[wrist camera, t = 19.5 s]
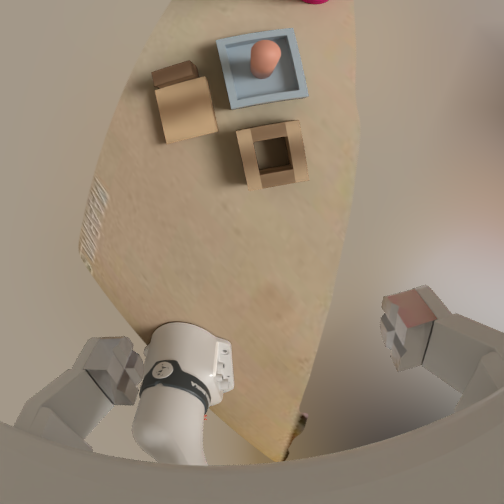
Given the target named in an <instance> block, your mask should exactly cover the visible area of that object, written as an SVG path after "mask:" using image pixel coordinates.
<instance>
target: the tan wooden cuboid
mask: <svg viewBox="0 0 504 504" xmlns="http://www.w3.org/2000/svg"><path fill="white" fill-rule="evenodd" d="M155 94H156V98H157V103H158V108H159V112H160V117H161V121H162V126H163V130H164V135H165V139H166V143H167V144H170V143H174V142H178V141H182V140H185V139H189V138H193V137H197V136H202V135H206V134H210V133H215V132H218V126H217V122H216V117H215V112H214V108H213V103H212V98H211V93H210V89H209V84H208V79H207V78H206V77H205V76H204V77H200V78H196V79H192V80H188V81H184V82H181V83H177V84H174V85H171V86H167V87H164V88H161V89H158V90H155Z"/></svg>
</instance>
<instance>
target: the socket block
mask: <svg viewBox="0 0 504 504" xmlns="http://www.w3.org/2000/svg"><path fill="white" fill-rule="evenodd" d="M236 135H237V139H238V144H239V148H240V153H241V158H242V162H243V167H244V172H245V176H246V181H247V185H248V190H249V191H253V190H258V189H263V188H268V187H274V186H279V185H285V184H291V183H297V182H303V181H309V175H308V169H307V162H306V156H305V150H304V144H303V139H302V133H301V127H300V122H299V120H292V121H286V122H279V123H273V124H268V125H262V126H256V127H251V128H246V129H241V130H237V131H236ZM279 137H285V142H286V147H287V153H288V158H289V164H290V165H284V166H278V167H273V168H267V169H262V170H259V168H258V163H257V158H256V153H255V148H254V143H253V142H256V141H262V140H267V139H273V138H279Z"/></svg>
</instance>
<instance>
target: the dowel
mask: <svg viewBox="0 0 504 504" xmlns="http://www.w3.org/2000/svg"><path fill="white" fill-rule="evenodd" d="M280 57H281V50H280V48H279V46H278V45H277V44H276V43H275V42H273V41H270V40H261V41H258V42H256V43H255V44H254V45H253V46H252V48H251V64H250V70H251V73H252V75H253V76H254V77H256V78H259V79H266V78H268V77H269V76H271V74H272V73H273V71H274V69H275V67H276V65H277V63H278V61H279V59H280Z"/></svg>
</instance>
